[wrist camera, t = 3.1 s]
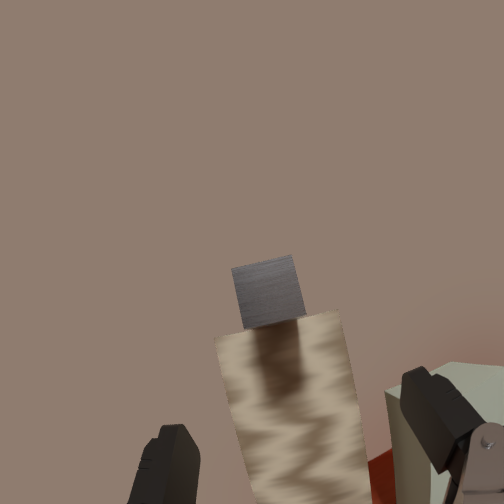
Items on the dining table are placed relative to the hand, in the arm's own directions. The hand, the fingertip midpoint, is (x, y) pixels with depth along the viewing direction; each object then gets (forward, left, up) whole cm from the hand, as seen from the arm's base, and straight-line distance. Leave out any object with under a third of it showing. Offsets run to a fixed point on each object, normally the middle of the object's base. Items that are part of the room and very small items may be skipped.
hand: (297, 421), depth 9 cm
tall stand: (0, +22, -28) cm, 36 cm away
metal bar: (0, +19, +4) cm, 20 cm away
